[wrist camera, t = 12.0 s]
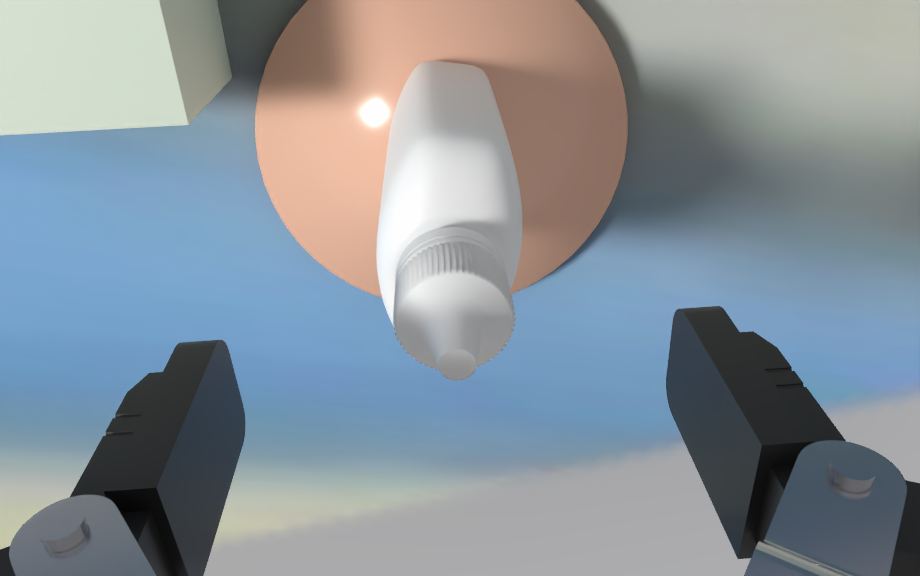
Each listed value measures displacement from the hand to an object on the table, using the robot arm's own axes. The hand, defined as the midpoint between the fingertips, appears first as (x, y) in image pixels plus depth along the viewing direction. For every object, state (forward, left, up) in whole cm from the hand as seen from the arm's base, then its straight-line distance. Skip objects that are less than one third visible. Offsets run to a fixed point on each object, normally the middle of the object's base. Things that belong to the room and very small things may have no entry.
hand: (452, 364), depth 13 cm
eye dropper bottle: (0, 0, -12) cm, 12 cm away
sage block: (-5, -9, -13) cm, 16 cm away
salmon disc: (0, 0, -13) cm, 13 cm away
